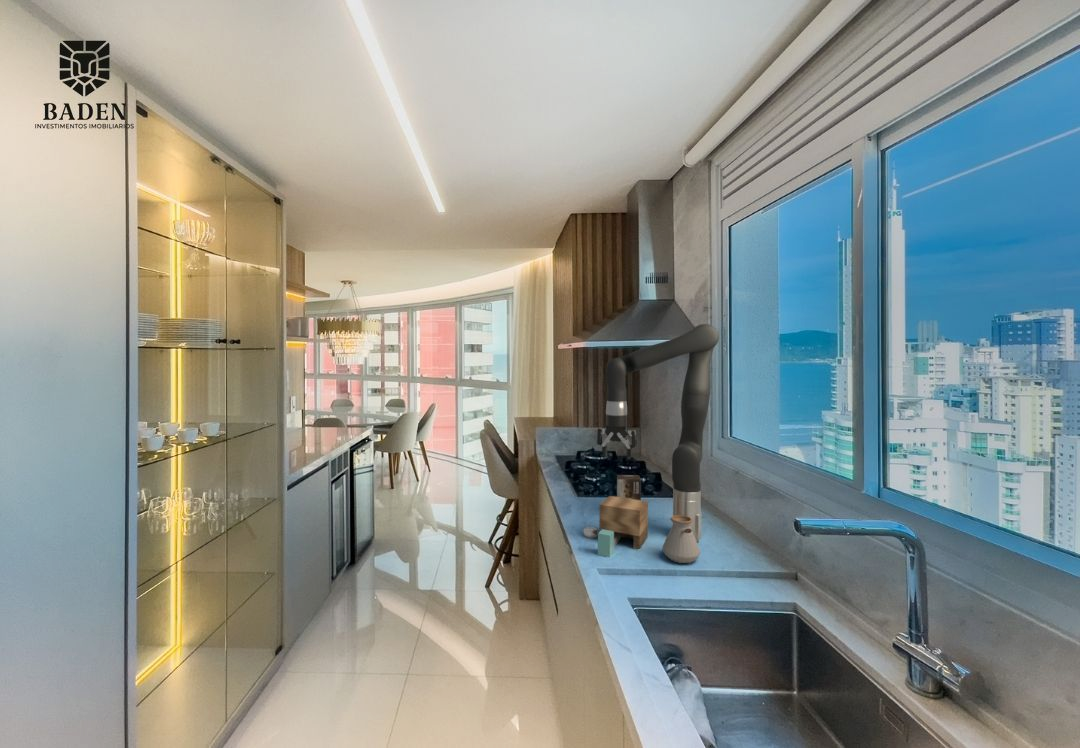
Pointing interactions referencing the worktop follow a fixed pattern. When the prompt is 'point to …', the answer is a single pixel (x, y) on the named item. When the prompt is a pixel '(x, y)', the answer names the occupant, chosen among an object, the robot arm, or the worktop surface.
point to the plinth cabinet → (625, 518)
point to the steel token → (590, 532)
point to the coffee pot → (681, 541)
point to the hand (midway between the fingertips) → (616, 457)
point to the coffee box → (629, 486)
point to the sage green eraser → (607, 542)
